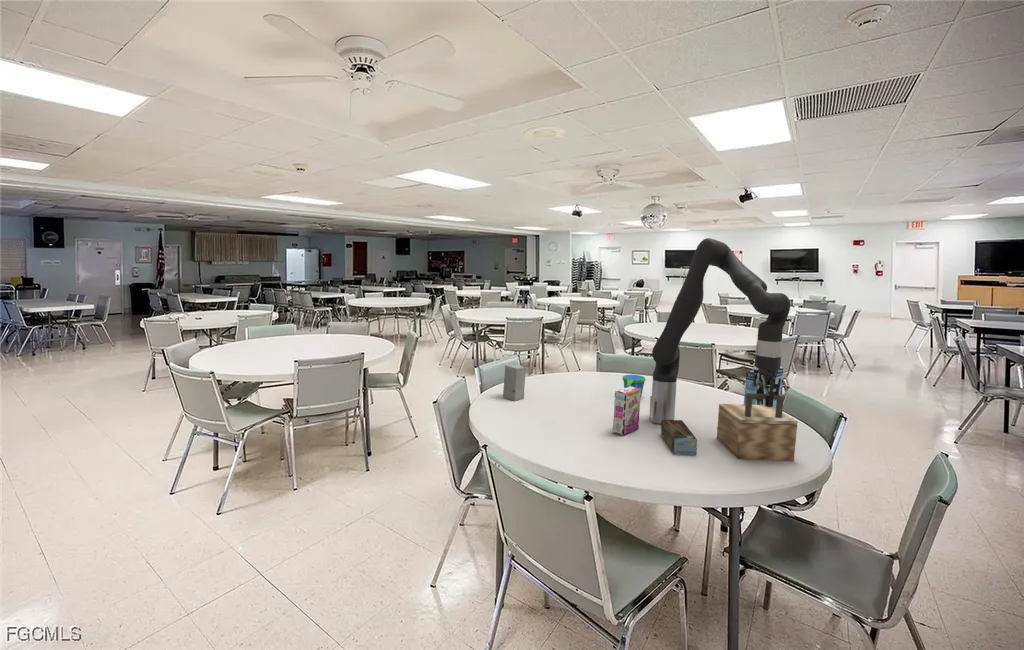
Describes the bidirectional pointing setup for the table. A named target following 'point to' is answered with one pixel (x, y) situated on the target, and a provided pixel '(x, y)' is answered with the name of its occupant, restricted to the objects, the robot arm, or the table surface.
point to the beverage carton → (679, 437)
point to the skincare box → (514, 382)
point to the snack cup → (634, 381)
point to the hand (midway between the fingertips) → (764, 403)
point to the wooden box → (756, 439)
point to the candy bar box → (626, 410)
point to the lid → (759, 411)
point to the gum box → (751, 389)
